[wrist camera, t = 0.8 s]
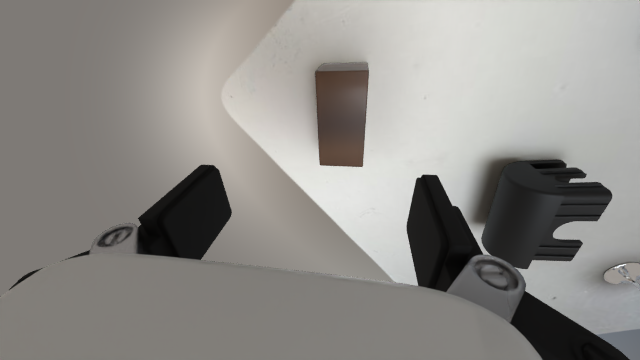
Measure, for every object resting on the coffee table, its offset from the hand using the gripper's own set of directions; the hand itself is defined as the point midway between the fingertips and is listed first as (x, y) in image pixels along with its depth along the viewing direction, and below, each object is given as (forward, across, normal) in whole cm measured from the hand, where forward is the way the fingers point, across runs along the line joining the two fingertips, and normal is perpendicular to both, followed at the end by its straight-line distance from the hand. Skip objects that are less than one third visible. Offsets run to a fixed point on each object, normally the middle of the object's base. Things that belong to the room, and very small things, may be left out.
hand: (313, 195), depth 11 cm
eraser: (+17, 0, +1) cm, 17 cm away
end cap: (+17, -20, +11) cm, 29 cm away
